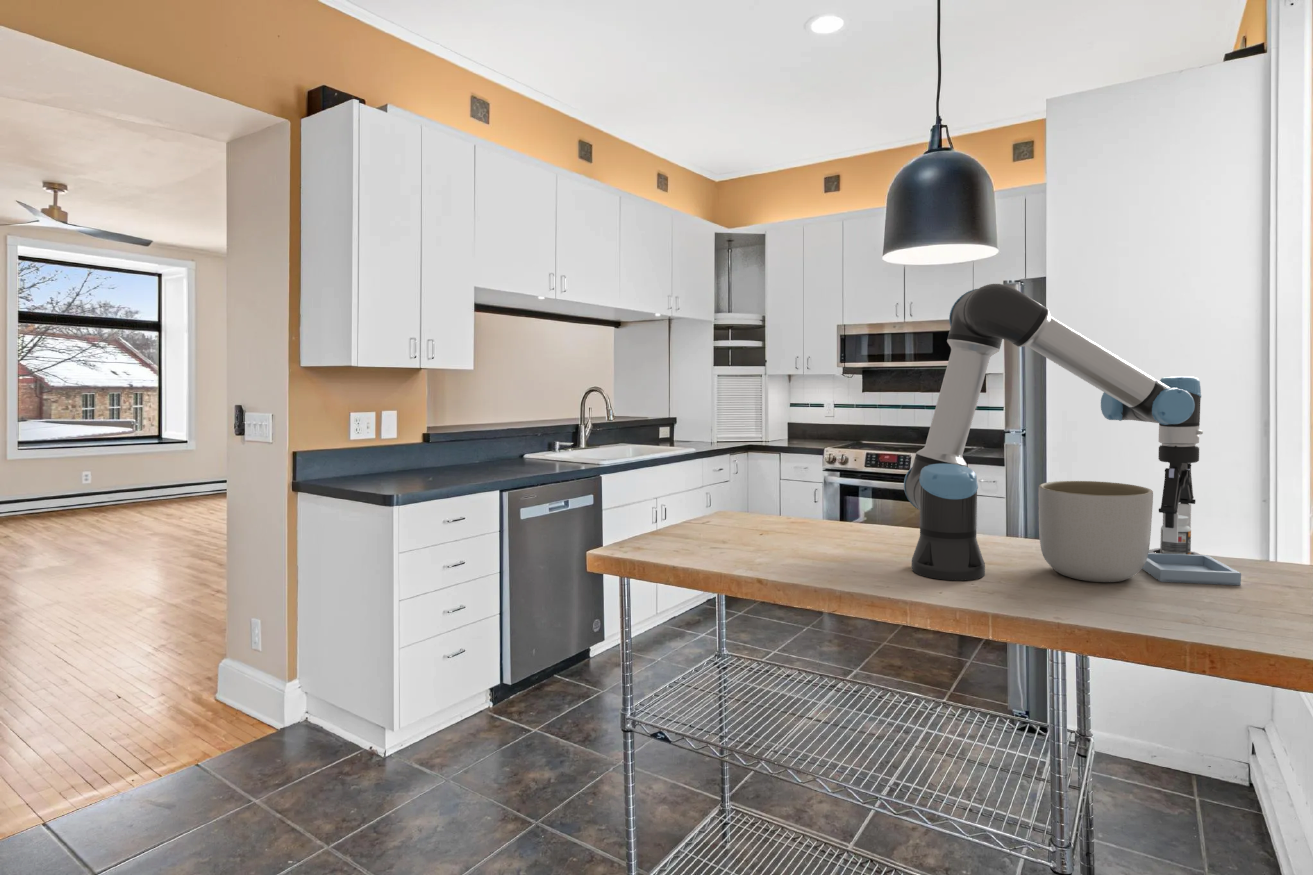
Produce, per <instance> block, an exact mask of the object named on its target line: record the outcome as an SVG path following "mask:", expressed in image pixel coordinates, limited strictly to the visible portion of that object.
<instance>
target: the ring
mask: <svg viewBox="0 0 1313 875" xmlns="http://www.w3.org/2000/svg"><path fill="white" fill-rule="evenodd" d="M1155 552H1156V553H1160V547H1158V548H1151V549H1149V552H1148V553H1155ZM1191 555H1201V554H1200V553H1198V552H1195V551H1191Z"/></svg>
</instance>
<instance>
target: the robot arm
mask: <svg viewBox="0 0 1313 875" xmlns="http://www.w3.org/2000/svg"><path fill="white" fill-rule="evenodd" d="M948 320H949V321H948V322H949V326H950V328H949V332H948V336H947V338H946V339H947V340H946V342H947V344H948V346H949V347H950V354H949V357H948V361H947V366H946V369H945V372H944V375H943V380H942V383H941V388H940V391H939V395H938V398H937V402H936V406H935V409H934V413H933V417H932V420H931V424H930V426H929V430H928V434H927V438H926V441H925V445H924V447H923V448H922V449H921V448H920V449H919V450H918V451H916V452H915V457H914V460H913V464H912V466H911V467H910V468H909V470H908V471H907V472H906V474H905V476H904V480H903V490H904V493H905V497H906V498H907V500H908V502H910V504H911V505H912V506H913V507H914V508H915V509H917V510H919V538H918V541H917V543H916V546H915V549H914V553H913V555H912V558H911V571H912V572H913V573H914V574H916V575H920V576H923V577H926V578H931V579H936V580H943V581H971V580H977V579H980V578H983V577H984V576H985V575H986V565H985V561H984V556H983V554H982V552H981V549H980V545H979V542H978V539H977V538H978V537H977V526H978V524H977V517H978V513H977V512H978V508H977V507H978V488H979V483H978V478H977V474H976V472H975V470H973V469H972V468H971V467H968V465H967V462H966V460H965V459H964V457H963V454H964V451H965V448H966V443H967V441H968V437H969V433H970V429H971V426H972V422H973V419H974V416H975V412H976V409H977V405H978V401H979V398H980V394H981V392H982V391H981V390H982V387H983V384H984V380H985V378H986V377H985V376H986V373H987V371H988V366H989V363H990V360H991V357H992V356H993V355H996V354H997V353H998V352H1000V351H1001V350H1000V349H1001V347H1002V342H1003V340H1004V341H1007V342H1009V343H1011V344H1012V345H1015V346H1016V347H1018V348H1021V347H1028V348H1029V349H1031V350H1033V351H1034V352H1036V353H1038V354H1039V355H1041V356H1042V357H1044V358H1046V359H1048V360H1049V361H1051V362H1053V363H1055V364H1056V365H1058V366H1060V367H1061V368H1063V369H1064V370H1066V371H1068V372H1070V373H1071V374H1072V375H1074V376H1077V377H1078V378H1080V379H1081V380H1083V381H1084V382H1086V383H1088V384H1089V385H1091V386H1093V387H1095V388H1096V389H1098V390H1100V391H1101V392H1103V393H1102V395H1101V399H1100V411H1101V414H1102V415H1103V417H1104V419H1106V420H1107V421H1108V420H1109V421H1120V422H1122V421H1138V422H1145V423H1147V422H1148V423H1154V424H1158V443H1160V445H1159V446H1158V461H1159V462H1162V463H1168V464H1169V465H1168V468H1166V467H1165V468H1164V482H1163V488H1162V497H1161V505H1160V507H1159V508H1158V513H1159V514H1160V513H1161V514H1162V525H1163V538H1162V541H1165V542H1174V543H1177V542H1178V515H1182V516H1187V517H1188V518H1189V522H1188V524H1187V526H1189V527H1190V529H1191V528H1192V505H1195V504H1196V499H1194V490H1193V481H1192V480H1193V478H1192V464H1195V463H1197V462H1199V461H1200V446H1199V445H1197V444H1199V443H1200V436H1201V435H1203V434H1204V431H1203V430H1201V429H1200V423H1201V400H1202V389H1201V380H1200V379H1199V378H1198V377H1196V376H1165V377H1161V378H1160V380H1159V379H1157V378H1154V377H1153V376H1151V375H1149V374H1148V373H1146V372H1144V371H1143V370H1142V369H1139V368H1138V367H1136V366H1135V365H1133V364H1131V363H1129V362H1128V361H1126V360H1125V359H1122V358H1121V357H1119V355H1116V354H1114V353H1112V352H1111V351H1110V350H1107V349H1106V348H1104V347H1102V345H1099V344H1098V343H1097V342H1094V341H1093V340H1091V339H1089V338H1087V337H1086V336H1084V334H1083V335H1082V334H1081V333H1080V332H1078V331H1076V330H1074V329H1073V328H1071V327H1070V326H1068V325H1066V324H1064V323H1063V322H1061V321H1060V320H1058V319H1056V318H1054V317H1053V316H1051V313H1050V309H1049V308H1048V307H1046V306H1045V305H1043V304H1041V303H1040V302H1038V301H1036V300H1034V299H1033V298H1031V297H1030V296H1028V295H1027V294H1025V293H1023V292H1022V291H1020V290H1018V289H1016V288H1014V287H1012V286H1009V285H1007V284H1002V283H989V284H986V285H985V284H984V285H983V286H980V287H979V288H975V289H972V290H968V291H966V292H964V293H963V294H962V295H961V296H959V298H958V299H957V300H956V301H955V302H954V303H953V305H952V307H951V309H950V312H949V319H948ZM1191 530H1192V529H1191Z"/></svg>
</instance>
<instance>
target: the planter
mask: <svg viewBox="0 0 1313 875" xmlns="http://www.w3.org/2000/svg"><path fill="white" fill-rule="evenodd" d="M1153 505H1154V491H1153V490H1152V489H1151V488H1148V487H1145V486H1141V485H1134V484H1129V483H1128V484H1127V483H1122V482H1121V483H1120V482H1111V481H1110V482H1108V481H1096V480H1093V481H1092V480H1059V481H1048V482H1043V483H1041V484H1039V485H1038V533H1039V544H1040V546H1039V547H1040V550H1041V554H1042V557H1043V558H1044V560H1045V561H1046V562H1047V564H1048V565H1049V566H1050V567H1051V568H1052V569H1053V570H1054V571H1056V572H1057V573H1058V574H1060V575H1062V576H1064V577H1067V578H1070V579H1071V578H1072V579H1075V580H1080V581H1085V582H1091V583H1092V582H1094V583H1118V582H1123V581H1126V580H1128V579H1131V578H1133V577H1134V576H1136V575H1137V574H1138V573H1139V572H1140V571H1142V570H1143V569H1142V568H1143V567H1144V565H1145V563H1146V560H1147V557H1148V552H1149V550H1150V547H1151V546H1150V544H1151V534H1152V520H1153V519H1152V518H1153Z"/></svg>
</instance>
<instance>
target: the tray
mask: <svg viewBox="0 0 1313 875" xmlns="http://www.w3.org/2000/svg"><path fill="white" fill-rule="evenodd" d="M1143 569H1144V570H1143ZM1141 570H1143V571H1145V572H1146V573H1147V572H1148V573H1147V574H1149V575H1150V574H1151V575H1150V576H1152V577H1153V578H1154V579H1156V580H1157V579H1158V580H1157V581H1159V582H1162V583H1181V584H1182V583H1184V584H1202V585H1204V584H1205V585H1225V586H1242V585H1241V584H1242V573H1241V572H1239V571H1238V570H1236V569H1234V568H1232V567H1231V566H1228V565H1227V564H1225V563H1223V562H1221V561H1220V560H1217V559H1215V558H1213V557H1211V556H1210V555H1208V554H1200V555H1191V554H1164V553H1148V557H1147V560H1146V563H1145V565H1144V567H1143V568H1142V569H1141Z"/></svg>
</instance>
